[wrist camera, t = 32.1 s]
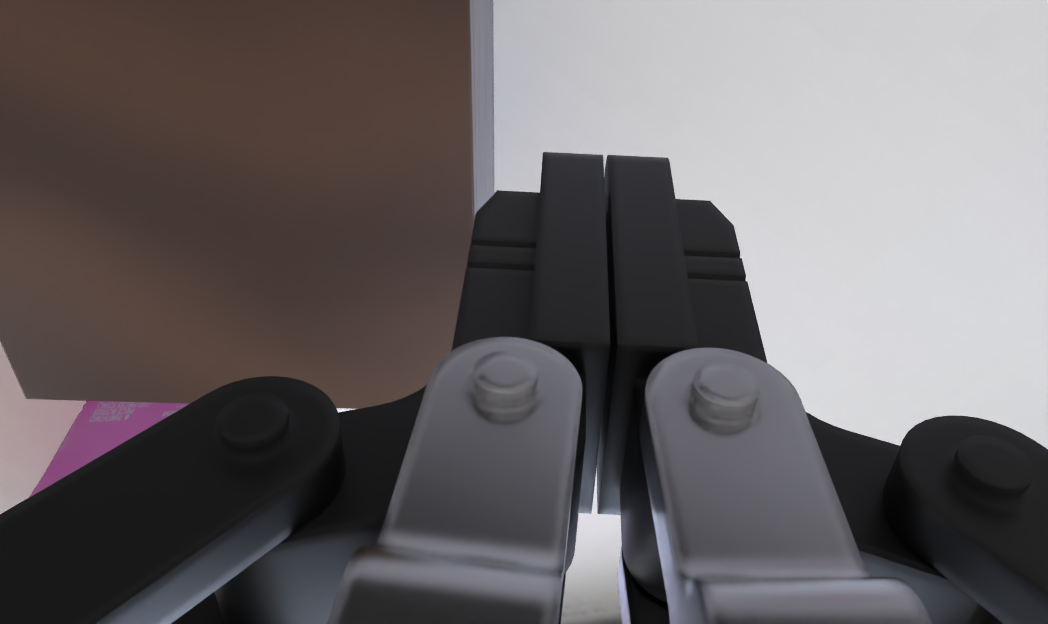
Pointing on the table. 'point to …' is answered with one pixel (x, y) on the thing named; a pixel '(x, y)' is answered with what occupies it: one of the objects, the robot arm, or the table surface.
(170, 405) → the gum box
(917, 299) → the table surface
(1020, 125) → the table surface
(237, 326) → the cabinet
